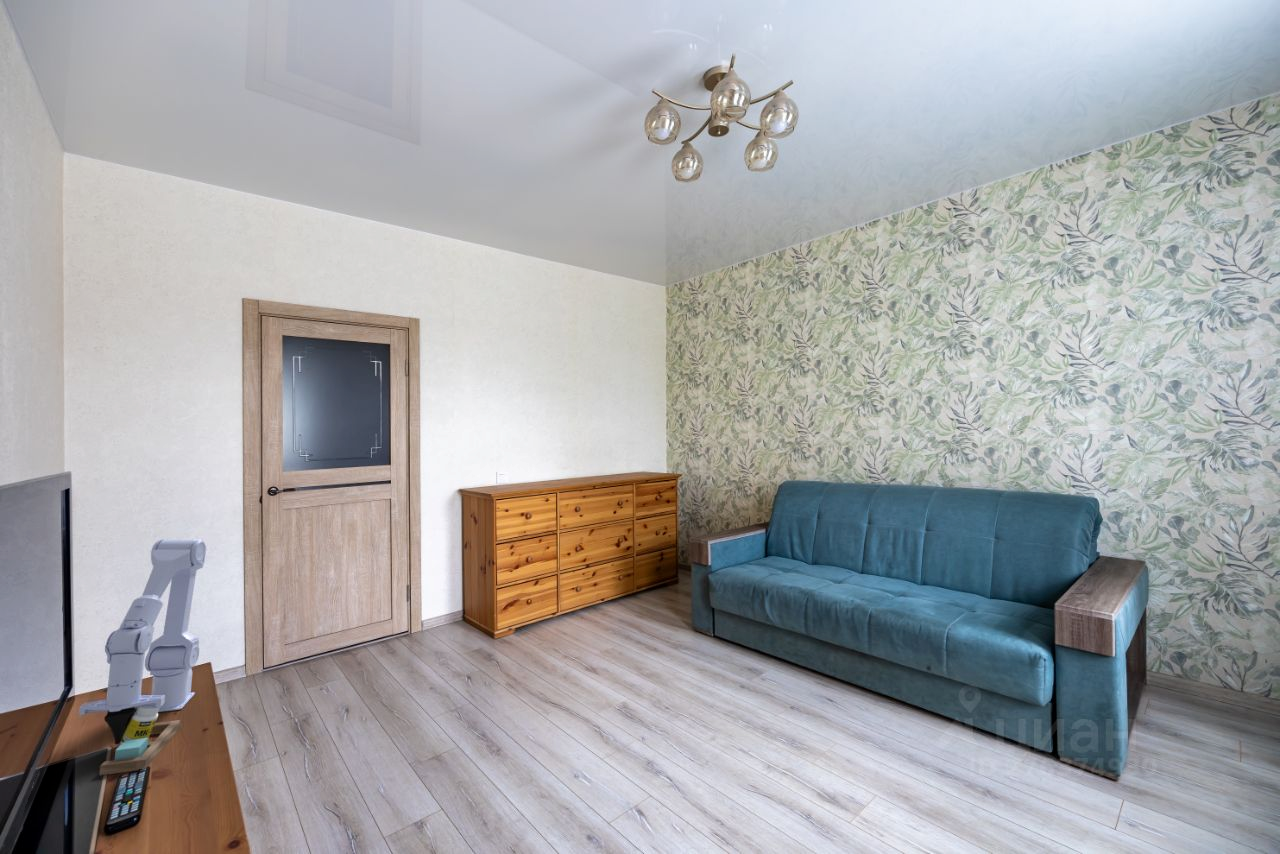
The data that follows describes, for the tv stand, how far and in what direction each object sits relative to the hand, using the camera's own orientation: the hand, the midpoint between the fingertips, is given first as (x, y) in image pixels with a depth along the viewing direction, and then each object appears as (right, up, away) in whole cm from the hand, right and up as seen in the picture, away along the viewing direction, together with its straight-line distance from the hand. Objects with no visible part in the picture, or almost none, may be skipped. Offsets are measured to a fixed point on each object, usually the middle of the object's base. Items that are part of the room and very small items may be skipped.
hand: (119, 741), depth 121 cm
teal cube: (+8, -1, -5) cm, 9 cm away
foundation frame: (+6, -1, -1) cm, 6 cm away
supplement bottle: (+2, -1, +1) cm, 3 cm away
